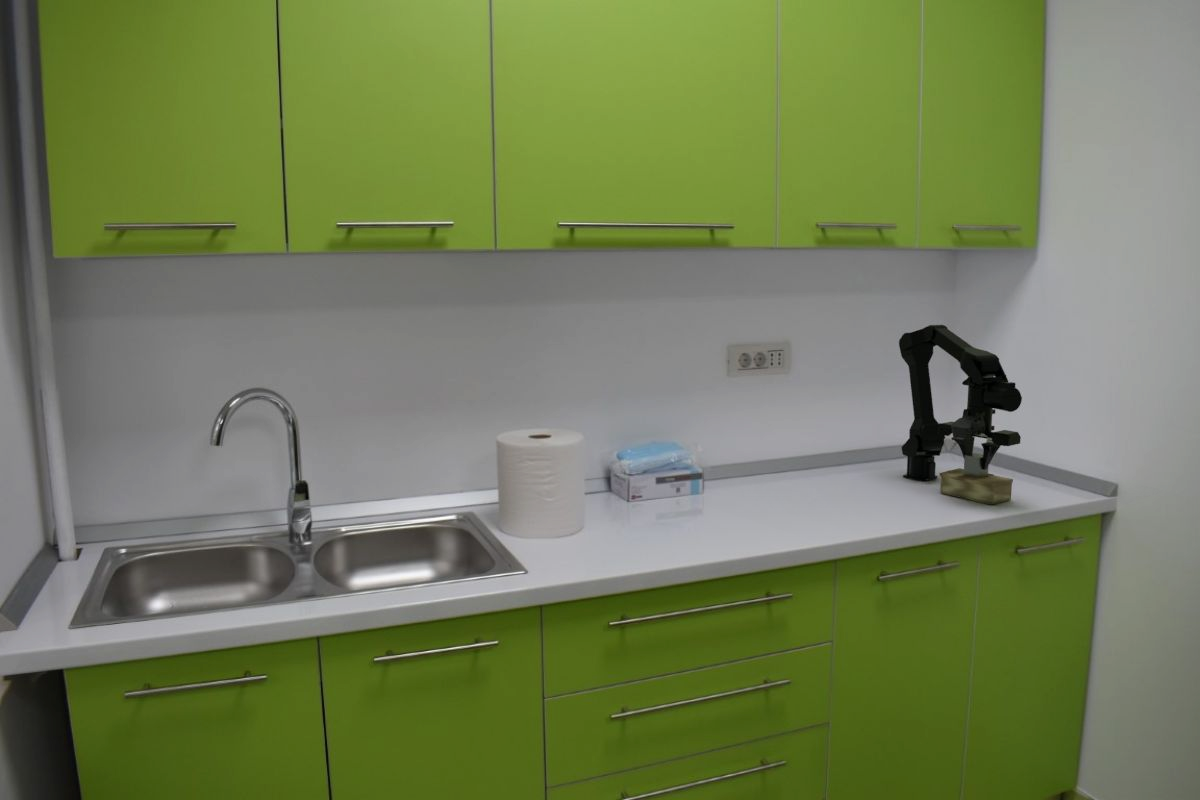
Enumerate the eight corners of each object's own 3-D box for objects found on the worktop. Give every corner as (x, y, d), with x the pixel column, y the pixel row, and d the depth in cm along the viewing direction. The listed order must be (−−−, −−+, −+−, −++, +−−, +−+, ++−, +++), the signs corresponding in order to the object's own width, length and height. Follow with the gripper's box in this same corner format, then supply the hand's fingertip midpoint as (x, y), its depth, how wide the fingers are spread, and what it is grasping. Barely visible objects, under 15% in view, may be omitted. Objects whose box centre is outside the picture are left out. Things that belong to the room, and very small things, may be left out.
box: (940, 492, 219) (941, 476, 219) (959, 487, 224) (959, 471, 223) (992, 504, 208) (993, 487, 207) (1010, 499, 212) (1011, 482, 212)
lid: (938, 476, 218) (939, 472, 218) (959, 471, 223) (959, 467, 223) (992, 487, 207) (992, 484, 207) (1013, 482, 212) (1013, 478, 211)
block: (963, 474, 216) (964, 455, 215) (973, 472, 218) (974, 453, 217) (978, 478, 212) (979, 458, 212) (987, 475, 215) (989, 455, 214)
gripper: (926, 403, 215) (923, 465, 218) (997, 414, 200) (993, 480, 203) (953, 399, 222) (949, 459, 224) (1023, 409, 206) (1019, 473, 209)
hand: (976, 467), depth 215 cm, fingers closed on block, 4 cm apart
